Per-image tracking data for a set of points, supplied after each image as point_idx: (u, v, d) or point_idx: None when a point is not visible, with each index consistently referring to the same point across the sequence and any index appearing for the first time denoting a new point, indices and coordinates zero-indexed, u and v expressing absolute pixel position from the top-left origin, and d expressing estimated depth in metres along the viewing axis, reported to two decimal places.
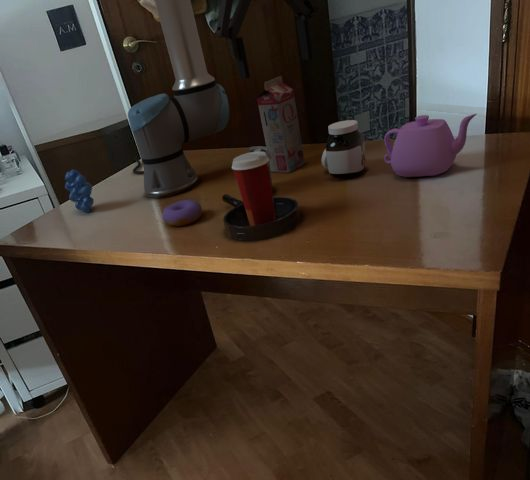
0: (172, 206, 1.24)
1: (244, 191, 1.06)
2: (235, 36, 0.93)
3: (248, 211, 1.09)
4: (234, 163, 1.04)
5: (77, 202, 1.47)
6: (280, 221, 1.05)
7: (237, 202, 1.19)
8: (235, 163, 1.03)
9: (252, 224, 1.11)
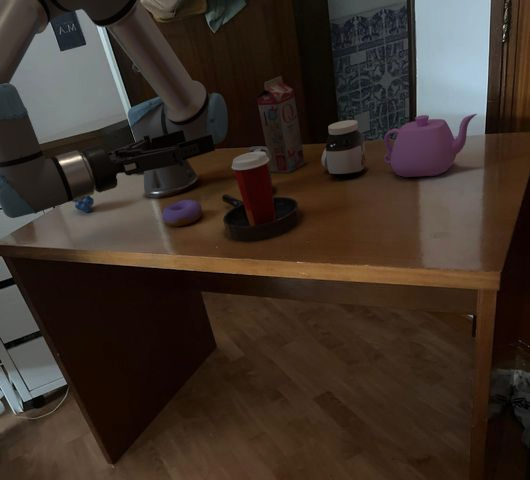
0: (172, 206, 1.24)
1: (244, 191, 1.06)
2: None
3: (248, 211, 1.09)
4: (234, 163, 1.04)
5: (77, 202, 1.47)
6: (280, 221, 1.05)
7: (237, 202, 1.19)
8: (235, 163, 1.03)
9: (252, 224, 1.11)
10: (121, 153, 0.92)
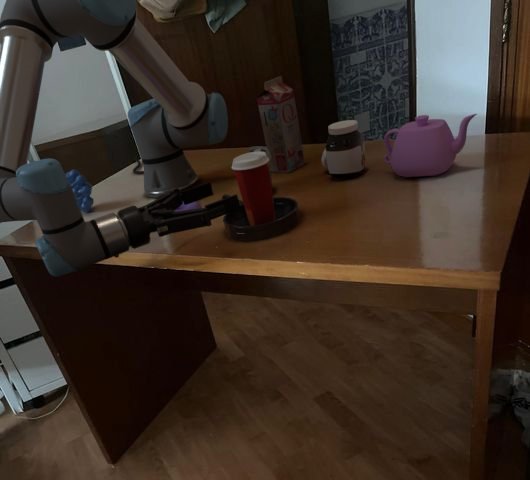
0: None
1: (244, 191, 1.06)
2: (181, 203, 1.10)
3: (248, 211, 1.09)
4: (234, 163, 1.04)
5: (77, 202, 1.47)
6: (280, 221, 1.05)
7: None
8: (235, 163, 1.03)
9: (252, 224, 1.11)
10: (153, 214, 0.99)
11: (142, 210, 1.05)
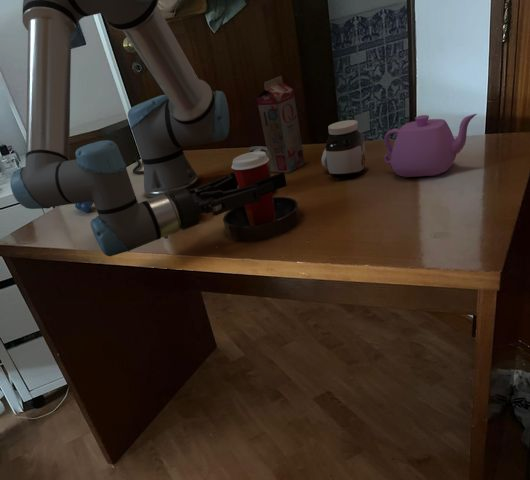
0: None
1: None
2: (236, 187, 1.11)
3: (248, 211, 1.09)
4: (234, 163, 1.04)
5: None
6: (280, 221, 1.05)
7: None
8: (235, 163, 1.03)
9: (252, 224, 1.11)
10: (203, 195, 1.02)
11: (192, 192, 1.08)
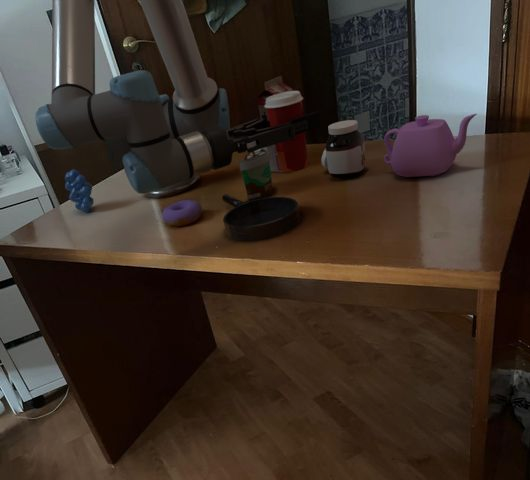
0: (172, 206, 1.24)
1: None
2: None
3: (280, 153, 1.07)
4: (267, 101, 1.01)
5: (77, 202, 1.47)
6: (280, 221, 1.05)
7: (237, 202, 1.19)
8: (268, 101, 1.01)
9: (284, 167, 1.08)
10: (237, 133, 1.00)
11: None
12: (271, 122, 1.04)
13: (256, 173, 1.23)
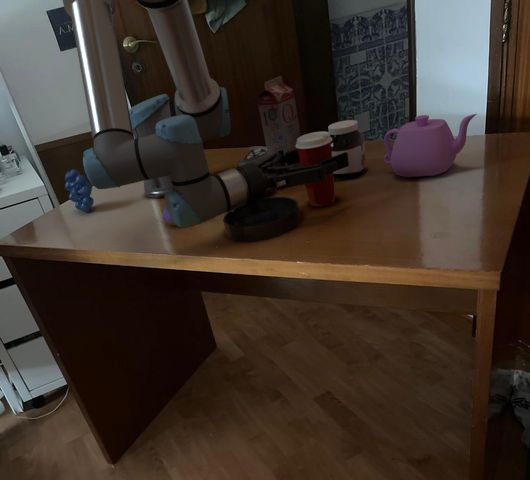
0: None
1: None
2: (284, 164, 1.17)
3: (309, 189, 1.13)
4: (299, 142, 1.08)
5: (77, 202, 1.47)
6: (280, 221, 1.05)
7: None
8: (300, 142, 1.08)
9: (312, 202, 1.15)
10: (269, 170, 1.06)
11: None
12: (302, 161, 1.10)
13: None
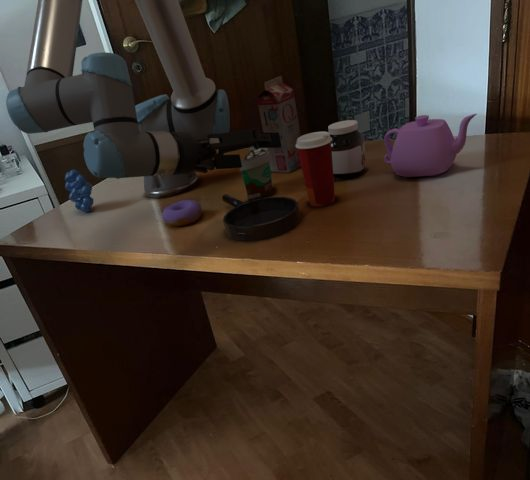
0: (172, 206, 1.24)
1: (307, 170, 1.10)
2: (213, 169, 1.13)
3: (309, 189, 1.13)
4: (299, 142, 1.08)
5: (77, 202, 1.47)
6: (280, 221, 1.05)
7: (237, 202, 1.19)
8: (300, 142, 1.08)
9: (312, 202, 1.15)
10: (200, 141, 1.00)
11: None
12: (302, 161, 1.10)
13: (256, 173, 1.23)
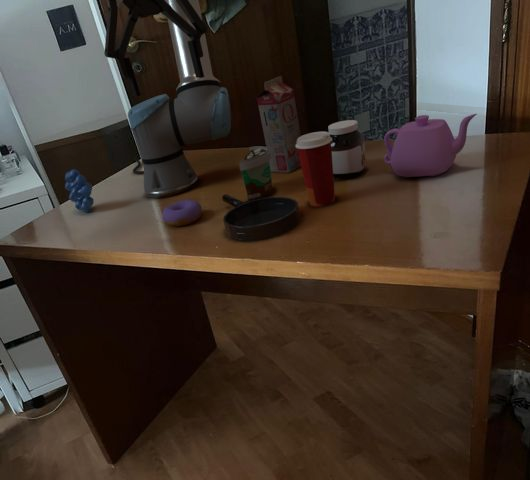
0: (172, 206, 1.24)
1: (307, 170, 1.10)
2: (122, 57, 0.98)
3: (309, 189, 1.13)
4: (299, 142, 1.08)
5: (77, 202, 1.47)
6: (280, 221, 1.05)
7: (237, 202, 1.19)
8: (300, 142, 1.08)
9: (312, 202, 1.15)
10: None
11: None
12: (302, 161, 1.10)
13: (256, 173, 1.23)
